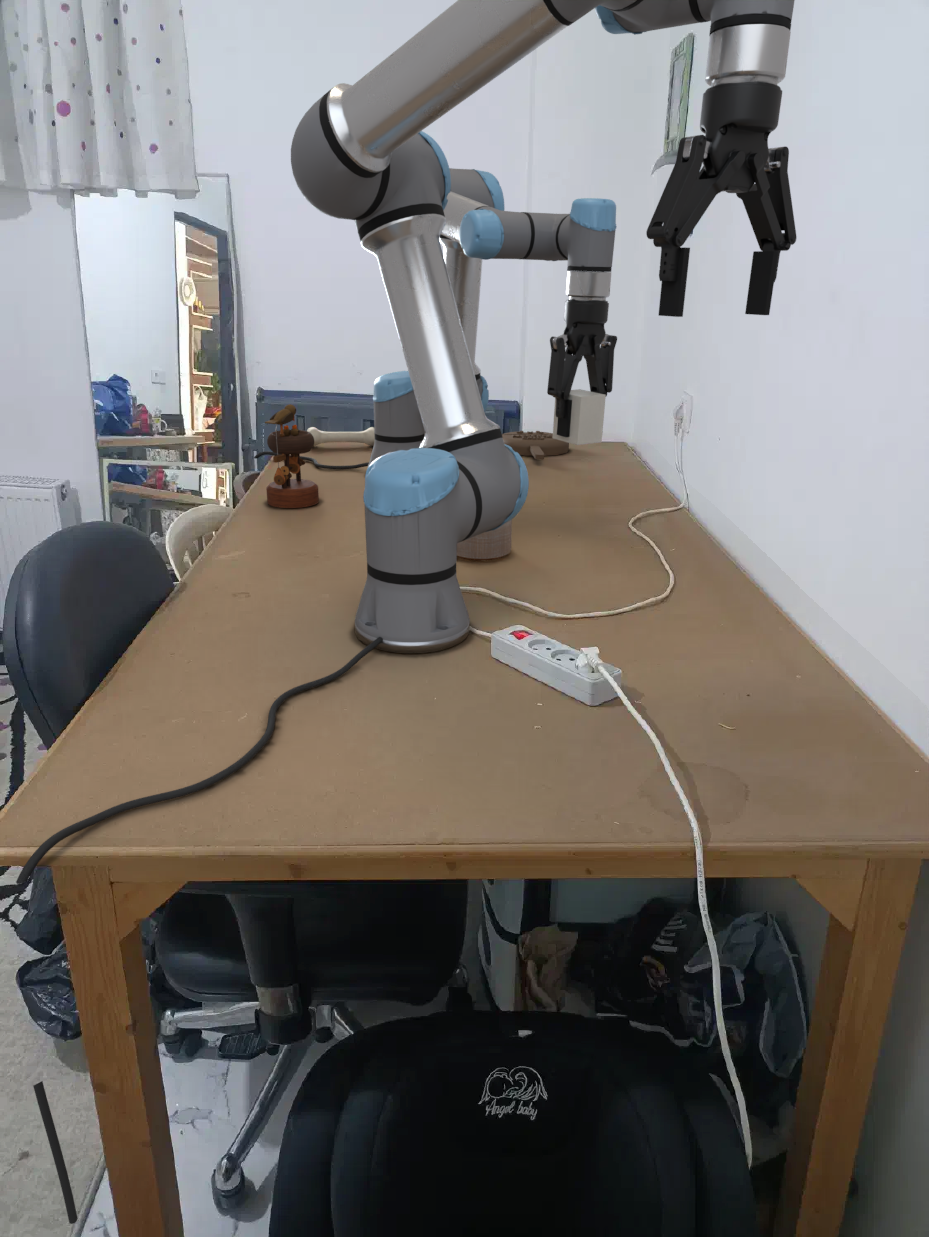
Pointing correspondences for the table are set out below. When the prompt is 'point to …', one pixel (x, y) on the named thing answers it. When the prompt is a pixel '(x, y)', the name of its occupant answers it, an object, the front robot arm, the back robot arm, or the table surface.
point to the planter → (487, 545)
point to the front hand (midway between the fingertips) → (715, 315)
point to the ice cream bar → (535, 443)
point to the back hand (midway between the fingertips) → (576, 434)
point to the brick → (584, 418)
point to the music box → (290, 463)
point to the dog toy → (343, 436)
